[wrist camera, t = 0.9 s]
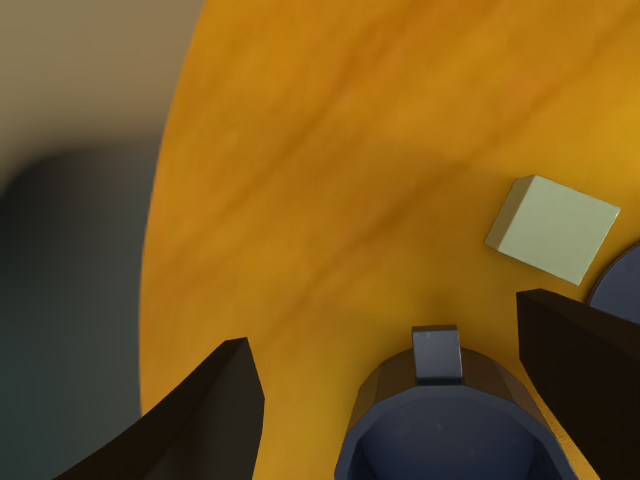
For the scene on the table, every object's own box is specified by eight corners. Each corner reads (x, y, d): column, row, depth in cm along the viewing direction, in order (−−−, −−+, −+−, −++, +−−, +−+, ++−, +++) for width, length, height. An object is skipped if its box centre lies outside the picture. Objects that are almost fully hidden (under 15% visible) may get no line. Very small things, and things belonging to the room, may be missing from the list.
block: (586, 207, 25) (621, 207, 21) (551, 272, 26) (578, 286, 22) (515, 178, 26) (535, 174, 22) (483, 243, 27) (496, 250, 23)
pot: (532, 298, 26) (568, 328, 20) (554, 566, 28) (594, 672, 21) (338, 310, 29) (318, 339, 23) (365, 552, 30) (353, 642, 24)
